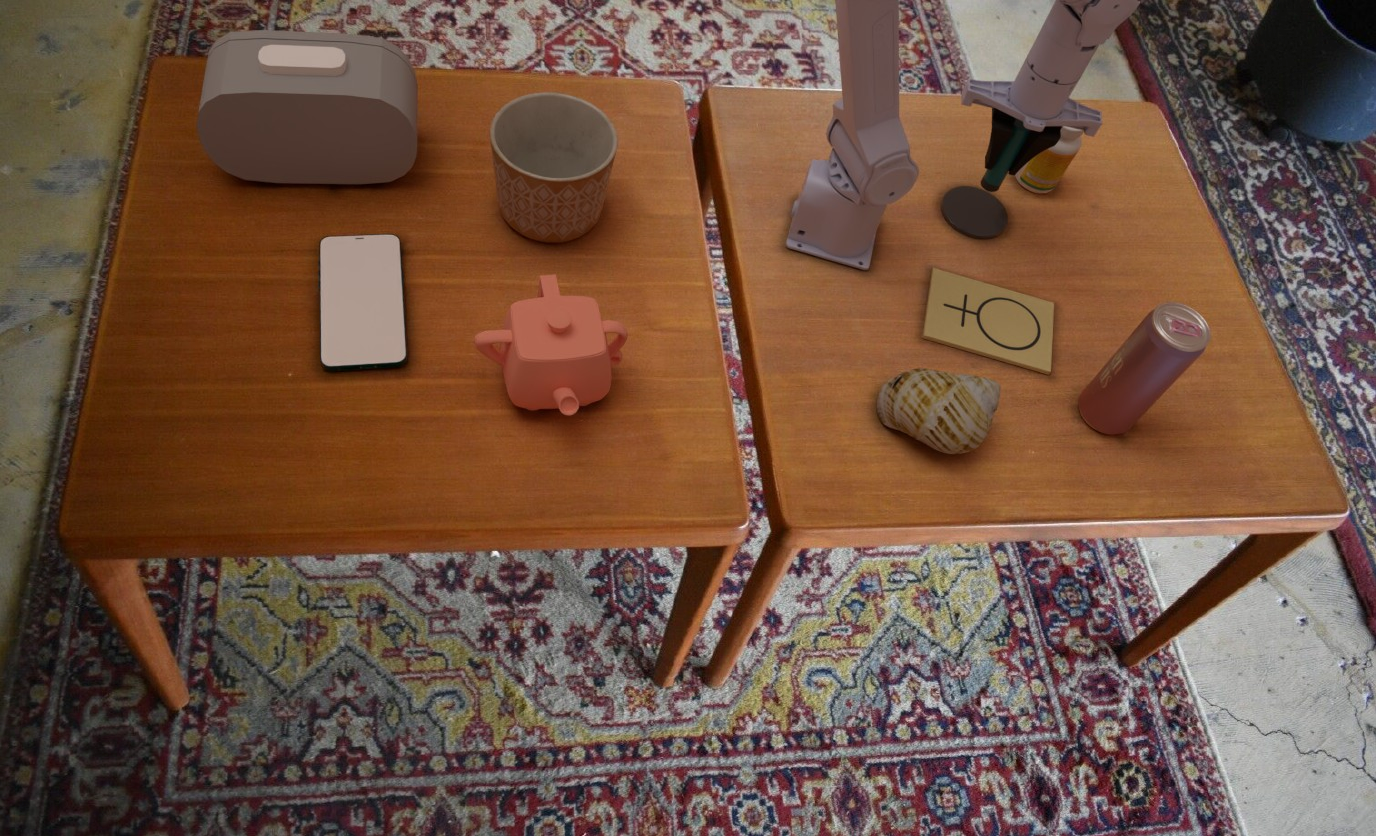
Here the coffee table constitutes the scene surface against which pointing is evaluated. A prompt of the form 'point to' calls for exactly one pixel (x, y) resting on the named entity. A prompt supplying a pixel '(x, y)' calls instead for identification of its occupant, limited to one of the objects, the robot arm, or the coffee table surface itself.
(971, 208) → the coaster
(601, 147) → the planter
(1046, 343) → the sign with female symbol
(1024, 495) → the coffee table surface
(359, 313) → the smartphone
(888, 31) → the robot arm
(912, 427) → the seashell
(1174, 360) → the beverage can
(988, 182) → the dark green cylinder
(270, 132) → the alarm clock
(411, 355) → the coffee table surface
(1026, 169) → the supplement bottle
